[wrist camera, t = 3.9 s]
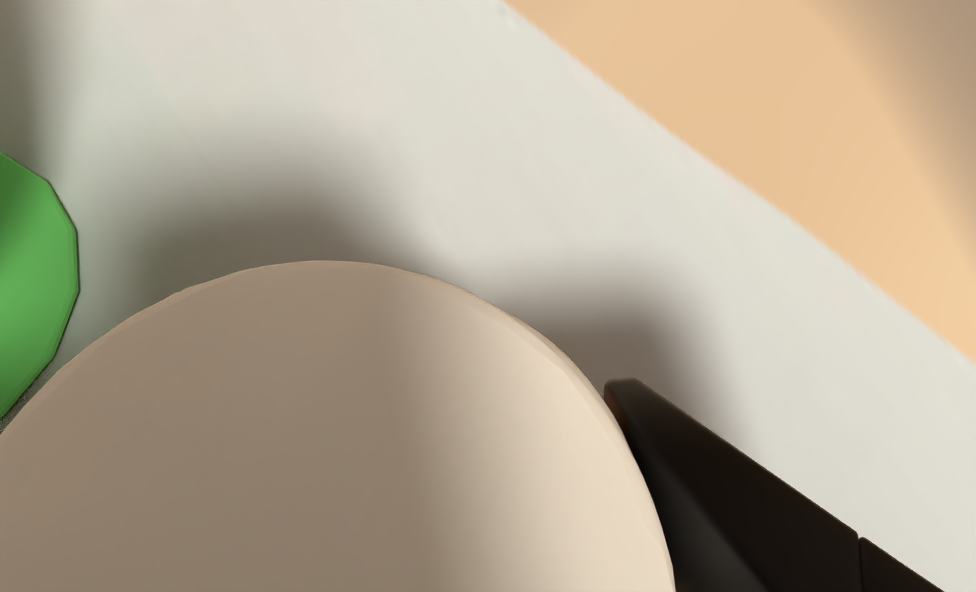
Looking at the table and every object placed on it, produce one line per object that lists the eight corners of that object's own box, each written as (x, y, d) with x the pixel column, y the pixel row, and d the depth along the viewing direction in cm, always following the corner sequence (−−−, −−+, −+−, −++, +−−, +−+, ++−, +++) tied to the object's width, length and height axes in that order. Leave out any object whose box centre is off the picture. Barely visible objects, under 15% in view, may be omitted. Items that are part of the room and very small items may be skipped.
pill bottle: (592, 418, 15) (899, 309, 4) (518, 681, 13) (700, 1707, 2) (364, 341, 15) (87, 57, 4) (265, 587, 13) (-550, 1076, 3)
